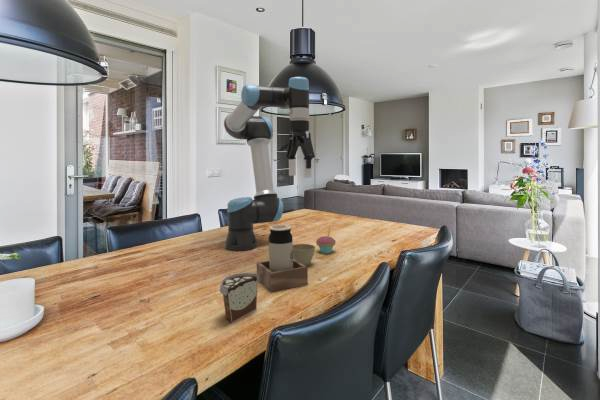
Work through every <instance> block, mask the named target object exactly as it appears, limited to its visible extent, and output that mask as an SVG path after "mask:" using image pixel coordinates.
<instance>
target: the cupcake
mask: <svg viewBox="0 0 600 400" xmlns="http://www.w3.org/2000/svg"><path fill="white" fill-rule="evenodd" d="M330 231H331V227H328V232H327V235H326V236H325V235H323V236H320V237H318V238H317V239H316V240H315V241H316V242H315V243H316V245H317V246H318V248H319V251H320V253H321V254H331V253H332V251H333V247H334V246H335V245H336V242H337V241H336V240H335V238H333V237H331V236H330Z"/></svg>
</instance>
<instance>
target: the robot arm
mask: <svg viewBox="0 0 600 400" xmlns="http://www.w3.org/2000/svg"><path fill="white" fill-rule="evenodd" d="M309 82H310V81H309V79H308V78H307V77H305V76H294V77H293V76H292V77H290V78H289V79H288V87H280V86H279V87H276V86H267V85H259V84H258V85H256V84H245V85H243V86H242V89H241V93H240V94H241V95H240V97H241V98H240V99H241V100H240V102H239V103H238V105H236V107H235V108H234V109H233V111H232V112H229V113H228V114H227V115H226V117H225V118H224V120H223V126H224V129H225V132H226V133H227V134H228V135H229V136H230V137H232V138H233V139H237V140H246V143H247V145H248V146H249V147H250V151H251V161H252V168H253V176H254V177H253V179H254V185H255V186H254V187H255V192H256V193H255V194H254V196H253V198H252V197H251V196H245V197H242V196H241V197H237V198H233V199H230V200H229V201H228V203H227V210H226V212H227V225H228V226H227V227H228V228H227V229H228V233H227V236H226V239H225V243H224V245H225V246H224V248H225V249H226V250H229V251H233V252H234V251H235V252H236V251H238V252H239V251H241V252H243V251H250V250H253V249H256V248H257V247H258V241H257V236H256V234H255V232H254V225H257V224H264V223H265V224H266V223H275V222H278V221H280V220H281V218H282V216H283V212H284V202H283V199H282V198H280V197H278V193H277V192H275V190H274V184H273V176H272V170H271V169H272V168H271V167H272V166H271V161H270V160H271V159H270V154H269V147H268V146H269V144H270V142H271V140H272V138H273V135H274V134H273V133H274V128H273V123H272V121H271V119H270V118H268V117H266V116H262V115H255V114H256V113H257V112H258V111H259V110H260V109H261V108H262V107H268V108H269V107H271V108H279V109H282V110H287V109H288V114H289V115H288V116H289V120H290V121H289V127H288V129H289V131H290V132H293V133H292V134H291V133H290V134H288V136H289V137H288V144H287V149H286V155H285V157H286V158H287V159H288V176H290V177H292V176H296V175H297V174H296V173H297V172H296V171H297V170H296V169H297V165H296V161H297V158H296V155H297V152H298V149H299V147H300V149H301V152H302V154H303V156H304V157H303V178H305V179H308V178H309V179H310V178H312V160H313V159H315V157H316V155H315V152H314V151H315V150H314V148H313V143H312V139H311V137H312V136H311V132H308V131H309V130H310V121H309V120H310V86H309V85H310V84H309Z"/></svg>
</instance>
